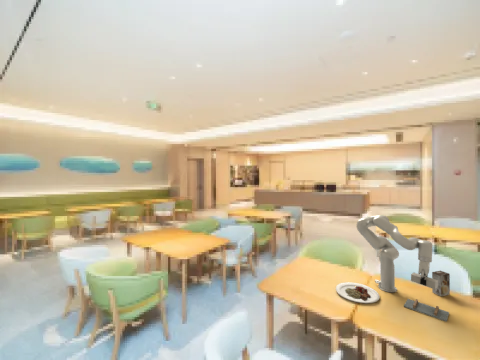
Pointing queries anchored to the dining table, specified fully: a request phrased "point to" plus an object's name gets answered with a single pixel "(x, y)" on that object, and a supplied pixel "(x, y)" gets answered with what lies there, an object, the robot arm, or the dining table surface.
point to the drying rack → (427, 309)
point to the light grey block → (429, 281)
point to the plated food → (357, 292)
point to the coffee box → (442, 283)
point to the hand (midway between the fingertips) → (424, 282)
